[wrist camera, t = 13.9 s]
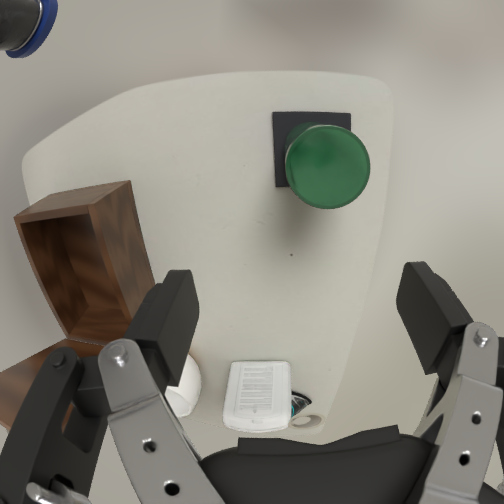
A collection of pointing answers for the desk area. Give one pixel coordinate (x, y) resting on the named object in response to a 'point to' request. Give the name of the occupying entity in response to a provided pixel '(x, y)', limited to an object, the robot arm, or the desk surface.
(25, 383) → the lid
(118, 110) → the desk surface
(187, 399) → the cup
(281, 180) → the mat
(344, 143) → the green pot
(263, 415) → the photo printer
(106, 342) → the wooden box
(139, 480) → the robot arm
